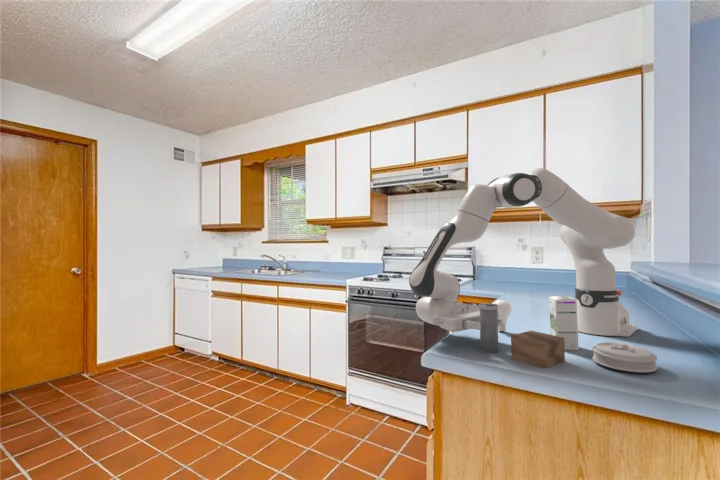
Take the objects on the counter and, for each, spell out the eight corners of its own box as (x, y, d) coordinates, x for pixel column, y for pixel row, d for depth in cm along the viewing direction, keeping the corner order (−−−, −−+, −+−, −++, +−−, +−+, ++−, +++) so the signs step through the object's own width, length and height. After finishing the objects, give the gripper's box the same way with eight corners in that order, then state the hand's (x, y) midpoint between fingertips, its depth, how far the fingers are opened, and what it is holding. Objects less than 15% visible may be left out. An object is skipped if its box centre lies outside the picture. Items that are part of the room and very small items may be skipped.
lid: (580, 360, 89) (580, 341, 89) (619, 356, 92) (618, 337, 92) (628, 379, 77) (628, 356, 77) (671, 373, 80) (671, 351, 80)
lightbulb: (506, 335, 113) (505, 302, 114) (488, 331, 118) (487, 299, 118) (515, 331, 118) (514, 299, 118) (497, 328, 122) (496, 297, 122)
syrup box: (579, 350, 96) (578, 299, 97) (556, 349, 98) (555, 298, 98) (571, 344, 102) (570, 295, 102) (549, 344, 103) (548, 295, 103)
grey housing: (487, 346, 102) (487, 302, 102) (503, 351, 97) (502, 305, 97) (475, 349, 99) (474, 304, 99) (490, 354, 95) (489, 307, 95)
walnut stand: (531, 351, 96) (531, 330, 96) (564, 361, 88) (564, 337, 88) (511, 357, 92) (511, 335, 92) (544, 368, 84) (543, 343, 84)
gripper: (430, 310, 104) (465, 318, 92) (476, 302, 115) (513, 309, 103) (430, 330, 104) (465, 341, 92) (477, 321, 115) (514, 330, 103)
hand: (491, 324), depth 98 cm, fingers open, 7 cm apart
